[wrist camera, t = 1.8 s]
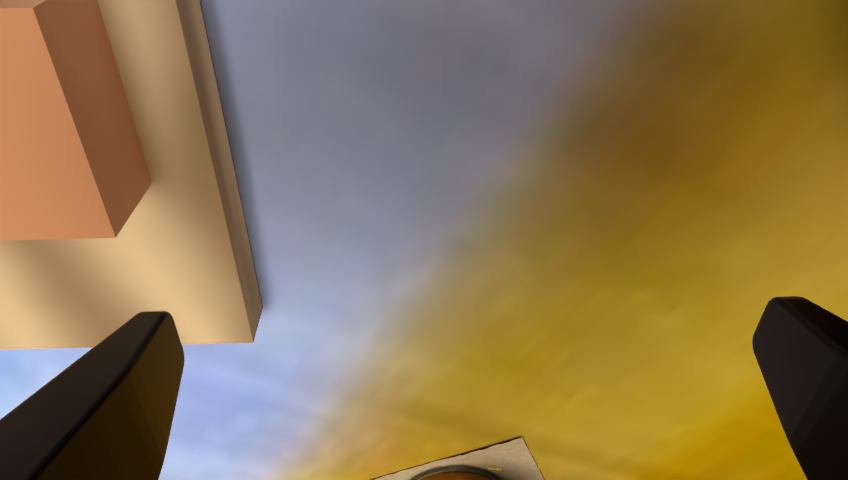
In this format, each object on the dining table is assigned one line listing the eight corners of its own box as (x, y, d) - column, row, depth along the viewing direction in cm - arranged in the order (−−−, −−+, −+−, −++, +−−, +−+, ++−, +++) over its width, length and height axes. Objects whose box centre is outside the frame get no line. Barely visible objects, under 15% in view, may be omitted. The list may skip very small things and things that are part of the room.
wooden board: (119, -391, 13) (79, -421, 11) (262, 307, 24) (253, 342, 23) (-415, -397, 13) (-536, -430, 11) (-14, 314, 24) (-44, 351, 22)
